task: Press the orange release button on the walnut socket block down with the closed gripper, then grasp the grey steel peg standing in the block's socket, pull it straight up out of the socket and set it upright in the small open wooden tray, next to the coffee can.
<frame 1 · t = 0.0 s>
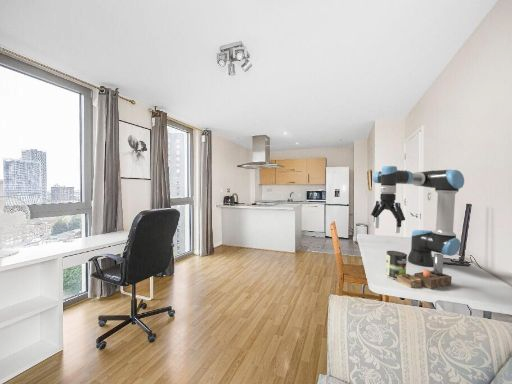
hand: (386, 230, 130), 28 cm above the table, fingers open, 13 cm apart
socket block: (432, 283, 125), on the table
coffee can: (395, 277, 134), on the table
release button: (426, 275, 123), point 5 cm above the table, slide at 0.0 cm
open wooden tray: (408, 283, 125), on the table
peg: (437, 282, 127), resting in socket block
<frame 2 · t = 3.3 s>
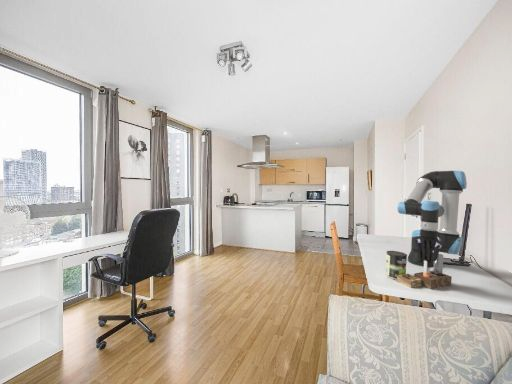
hand: (426, 272, 123), 7 cm above the table, fingers closed
release button: (426, 277, 123), point 4 cm above the table, slide at 1.4 cm, touching gripper
everything else where it was.
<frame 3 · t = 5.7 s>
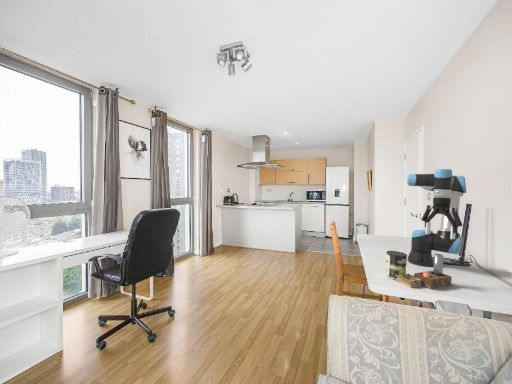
hand: (439, 236, 126), 26 cm above the table, fingers open, 12 cm apart
release button: (426, 277, 123), point 4 cm above the table, slide at 1.5 cm
everything else where it was.
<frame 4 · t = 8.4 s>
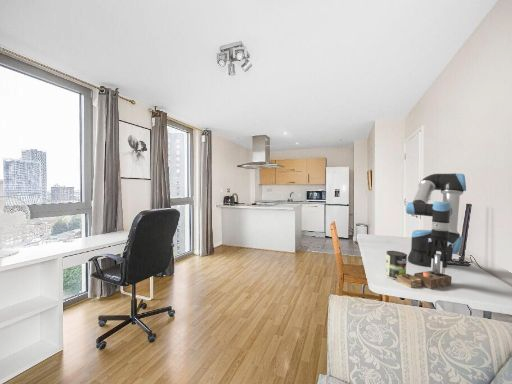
hand: (437, 271, 126), 7 cm above the table, fingers closed on peg, 4 cm apart
peg: (437, 282, 127), resting in socket block, touching gripper
everything else where it was.
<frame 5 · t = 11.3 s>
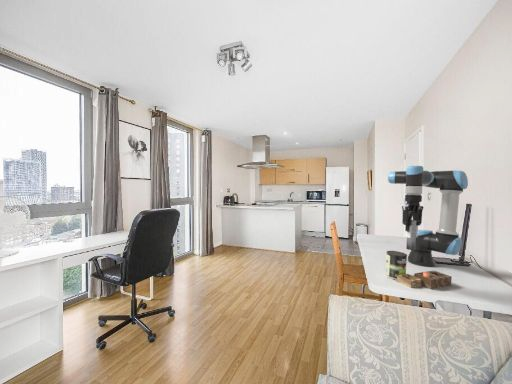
hand: (411, 237, 124), 26 cm above the table, fingers closed on peg, 4 cm apart
peg: (410, 249, 124), point 19 cm above the table, touching gripper
everything else where it was.
when the fingers open (9 cm above the table, at t = 14.5 s): peg drops 1 cm, resting on open wooden tray.
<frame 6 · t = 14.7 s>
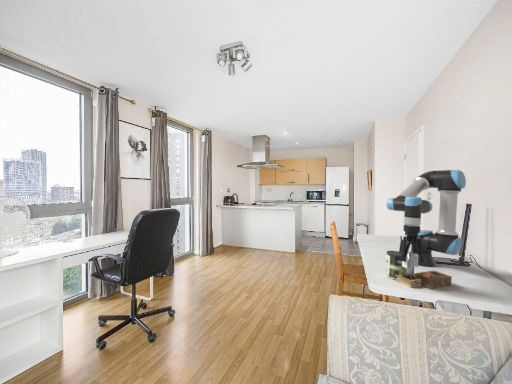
hand: (409, 266, 125), 10 cm above the table, fingers open, 7 cm apart
peg: (408, 281, 125), point 1 cm above the table, touching open wooden tray
everything else where it was.
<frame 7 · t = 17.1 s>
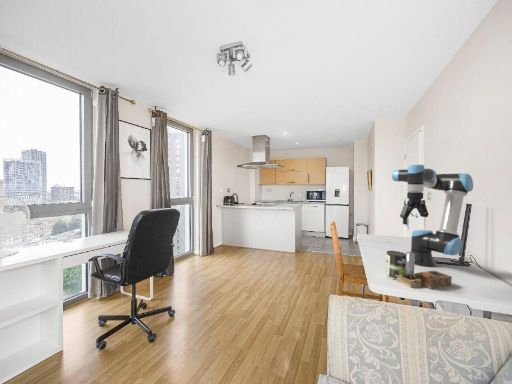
hand: (414, 228, 130), 29 cm above the table, fingers open, 13 cm apart
nothing on the table moved.
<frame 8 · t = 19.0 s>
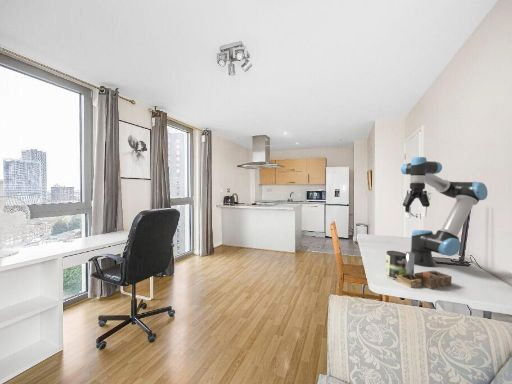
hand: (415, 217, 139), 35 cm above the table, fingers open, 13 cm apart
nothing on the table moved.
at the end: release button slide at 1.5 cm; peg 0.0 cm off-centre on the open wooden tray, point 1.0 cm above the open wooden tray's base; peg tilted 0° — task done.
